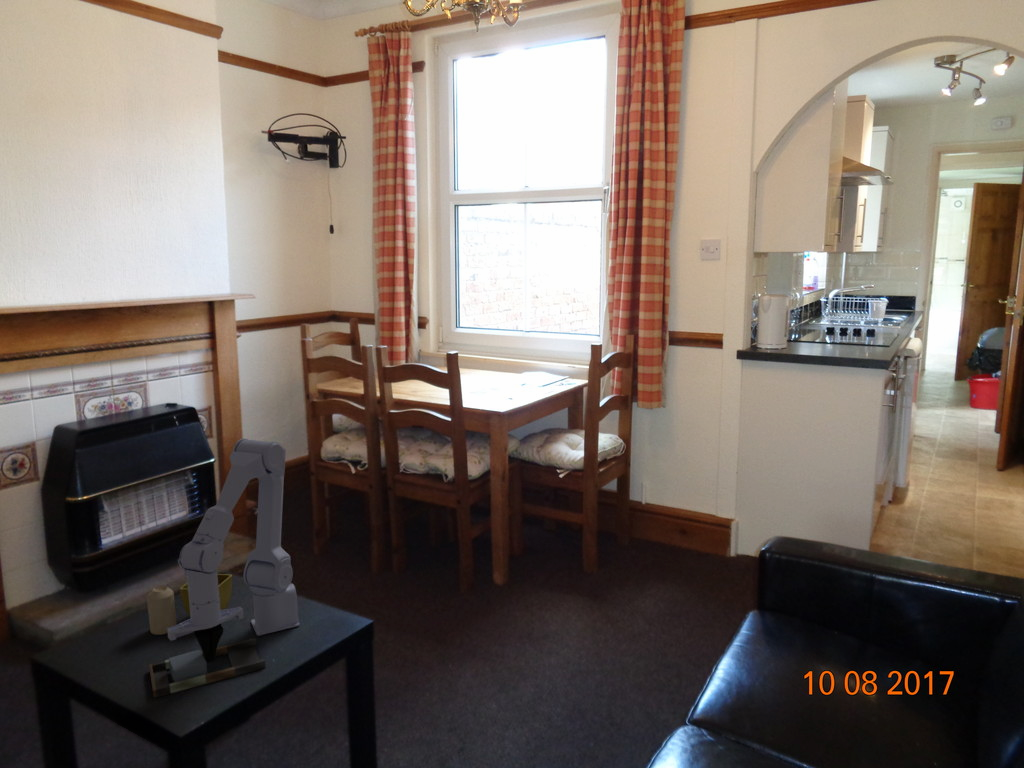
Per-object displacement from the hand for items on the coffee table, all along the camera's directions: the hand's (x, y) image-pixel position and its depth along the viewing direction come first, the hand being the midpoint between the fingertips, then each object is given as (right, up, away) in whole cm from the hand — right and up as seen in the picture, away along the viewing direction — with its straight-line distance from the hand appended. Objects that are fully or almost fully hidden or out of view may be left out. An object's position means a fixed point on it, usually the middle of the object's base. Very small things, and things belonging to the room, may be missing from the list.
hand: (209, 660), depth 153 cm
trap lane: (0, -2, 0) cm, 2 cm away
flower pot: (-9, +2, +23) cm, 25 cm away
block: (-4, -3, -2) cm, 5 cm away
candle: (-18, +1, +17) cm, 25 cm away
